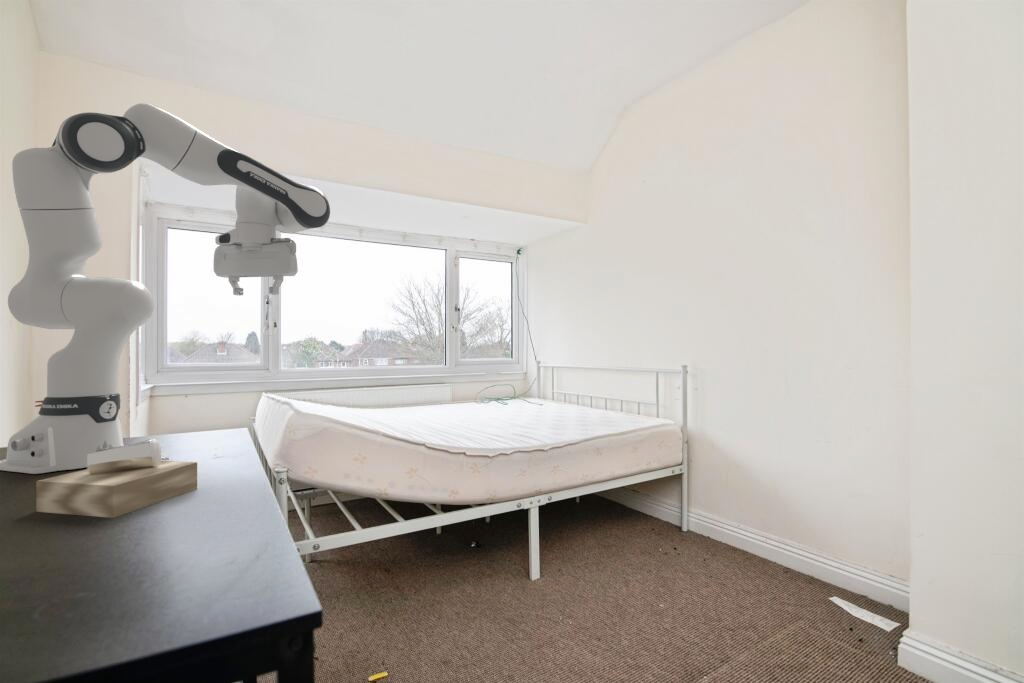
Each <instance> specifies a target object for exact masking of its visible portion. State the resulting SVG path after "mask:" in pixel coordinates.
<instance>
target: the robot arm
mask: <svg viewBox="0 0 1024 683" xmlns="http://www.w3.org/2000/svg"><path fill="white" fill-rule="evenodd" d="M138 158H143V159H144V158H145V159H147V160H150V161H152V162H155V163H156V164H158V165H160V166H161V167H163V168H165V169H167V170H168V171H170V172H172V173H174V174H176V175H177V176H179V177H181V178H184V179H185V180H188V181H190V182H193V183H196V184H199V185H202V186H209V187H210V186H220V185H227V186H228V185H229V186H231V185H234V186H236V189H235V211H236V214H237V215H236V216H237V217H236V221H235V225H234V227H235V228H232V229H230V230H229V231H226V232H224V233H221V234H218V235H216V237H215V238H214V240H215V244H216V245H218V246H216V248H215V250H214V254H213V272H214V274H215V276H217V277H221V278H226V279H228V282H229V284H230V286H231V287H232V290H233V291H232V292H233V293H232V294H233V295H234V296H244V288H243V287H242V288H241V286H240V284H239V283H238V282H240V278H262V277H264V278H267V277H268V278H269V277H270V278H271V277H272V280H274V282H273V284H272V285H271V286H269V287H268V290H269V291H268V294H270V295H275V296H278V295H279V294H280V287H281V286H282V284H283V282H284V277H295V276H296V274H298V272H299V269H298V259H297V254H296V253H297V244H296V242H295V241H294V240H292V239H291V238H290V237H284V238H281V237H279V238H278V237H277V232H281V233H284V234H297V233H299V232H303V231H308V230H311V229H317V228H318V229H319V228H322V227H323V226H324V225H326V223H328V222H329V219H330V217H331V216H330V215H331V208H330V203H329V200H328V198H327V196H326V195H325V194H324V192H323V191H321V190H320V189H318V188H317V187H315V186H313V185H308V184H303V183H300V182H296V181H294V180H293V179H290V178H288V177H287V176H285V175H283V174H282V173H279V172H278V171H276V170H274V169H273V168H270V167H269V166H267V165H265V164H263V163H262V162H259V161H258V160H256V159H254V158H253V157H250V156H248V155H246V154H244V153H242V152H239V151H237V150H235V149H233V148H231V147H229V146H227V145H224V144H223V143H221V142H219V141H218V140H216V139H214V138H212V137H211V136H209V135H208V134H206V133H204V132H203V131H201V130H199V129H198V128H197V127H195V126H193V125H192V124H190V123H188V122H186V121H185V120H183V119H181V118H179V117H178V116H175V115H173V114H171V113H170V112H167V111H166V110H164V109H161V108H159V107H158V106H157V107H156V106H154V105H152V104H150V103H145V102H143V103H137V104H134V105H132V106H130V107H129V108H128V109H127V110H126V111H125V112H124V114H123V115H122V116H119V115H112V114H106V113H100V112H82V113H77V114H74V115H71V116H69V117H68V118H66V119H65V120H63V121H62V123H61V124H60V126H59V128H58V131H57V134H56V136H55V138H54V141H53V143H52V145H51V147H50V146H49V147H33V148H26V149H23V150H22V151H19V152H18V153H16V154H15V155H14V157H13V158H12V162H11V163H12V164H11V165H12V178H13V179H12V181H13V182H12V183H13V188H14V194H15V199H16V202H17V206H18V209H19V213H20V216H21V220H22V223H23V227H24V231H25V235H26V240H27V244H28V251H29V254H28V256H29V257H28V264H27V267H26V271H25V273H24V276H23V277H22V278H21V280H20V281H18V283H16V284H15V285H14V286H13V287H12V288H11V290H10V291H9V294H8V297H7V306H8V310H9V312H10V313H11V315H12V316H13V318H14V319H16V320H17V321H18V322H19V323H21V324H22V325H25V326H29V327H30V326H31V327H36V328H41V329H47V330H74V331H73V335H72V338H71V339H70V341H69V342H68V344H67V345H66V346H64V348H61V349H59V350H58V351H55V352H54V353H53V354H52V355H51V356H50V357H49V358H48V360H47V363H46V364H47V365H46V370H47V371H46V373H47V374H46V375H47V376H46V397H44V398H43V400H36V401H34V402H35V403H39V404H36V405H34V407H35V408H37V407H40V408H39V411H38V416H37V417H36V418H35V419H33V420H32V421H30V422H29V423H28V424H26V425H25V426H24V427H23V428H21V429H20V430H18V431H16V433H14V434H12V435H11V437H10V438H9V439H8V442H7V448H6V457H5V458H6V459H2V460H1V459H0V471H6V472H14V473H24V474H31V475H37V474H38V475H39V474H45V473H51V472H57V471H59V472H60V471H66V470H77V469H78V470H79V469H83V468H88V465H87V455H88V453H92V452H95V451H96V450H97V448H98V446H99V445H100V446H101V448H102V447H103V444H104V442H105V441H106V443H107V446H108V447H109V446H110V444H111V445H112V446H113V448H115V447H120V446H124V445H125V444H124V439H123V432H122V431H123V430H122V424H121V419H120V417H119V411H120V409H121V402H122V400H121V394H120V393H119V392H118V379H119V367H120V366H119V365H120V363H119V362H120V358H121V354H122V351H123V349H124V347H125V345H126V343H127V341H128V340H129V338H130V337H131V335H132V334H134V332H135V331H136V330H137V329H138V328H140V327H141V326H143V325H144V324H146V323H147V322H148V321H149V319H150V318H151V317H152V314H153V312H154V308H155V304H154V297H153V295H152V293H151V291H150V290H149V289H148V288H147V286H146V285H144V283H141V282H139V281H135V280H132V279H131V280H129V279H125V278H120V277H113V276H112V277H102V276H101V277H98V276H97V277H95V276H92V277H91V276H90V277H88V276H86V272H85V269H86V268H85V266H86V263H87V260H88V259H90V258H91V257H93V256H95V255H96V254H97V253H98V252H99V251H100V250H101V248H102V246H103V238H102V233H101V230H100V225H99V222H98V218H97V214H96V210H95V206H94V201H93V199H92V195H91V194H92V193H91V180H92V177H93V176H95V175H98V174H112V173H116V172H118V171H121V170H123V169H125V168H126V167H128V166H130V164H132V163H134V161H135V160H137V159H138Z"/></svg>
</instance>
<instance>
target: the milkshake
mask: <svg viewBox="0 0 1024 683" xmlns="http://www.w3.org/2000/svg"><path fill="white" fill-rule="evenodd" d="M161 447H162V446H161V445H160V442H159V440H157V439H156V438H150V439H146V440H142V441H138V442H134V443H133V442H132V443H129V444H124V446H120V447H115V448H111V449H106V450H101V451H97V452H92V453H88V455H87V465H88V467H87V468H88V471H89V474H96V473H104V472H112V471H120V470H128V469H137V468H147V467H155V466H157V465H158V464H159V463H160V462H161V461H170V460H169V457H162V448H161Z"/></svg>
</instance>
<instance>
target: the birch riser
mask: <svg viewBox="0 0 1024 683" xmlns="http://www.w3.org/2000/svg"><path fill="white" fill-rule="evenodd" d="M195 490H198V462H197V461H196V462H195V461H179V460H178V461H177V460H176V461H175V460H161V462H160V463H159V464H158V465H157V466H155V467H147V468H137V469H128V470H120V471H112V472H104V473H96V474H89V471H88V469H87V468H86V469H82V470H78V471H72V472H68V473H65V474H60V475H57V476H56V475H55V476H52V477H48V478H43V479H39V480H36V495H35V496H36V497H35V498H36V500H35V501H36V503H35V504H36V507H35V508H36V512H37V513H38V512H39V513H48V514H49V513H50V514H60V515H61V514H62V515H75V516H76V515H77V516H85V517H86V516H88V517H99V518H110V519H111V518H112V519H115V518H118V517H120V516H123V515H126V514H130V513H132V512H134V511H138V510H141V509H143V508H145V507H149V506H153V505H155V504H158V503H161V502H164V501H167V500H169V499H173V498H175V497H178V496H181V495H184V494H187V493H190V492H192V491H193V492H194V491H195Z"/></svg>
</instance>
